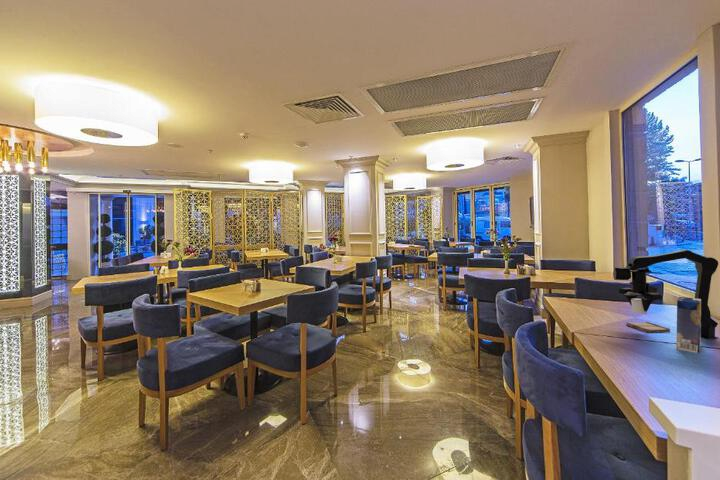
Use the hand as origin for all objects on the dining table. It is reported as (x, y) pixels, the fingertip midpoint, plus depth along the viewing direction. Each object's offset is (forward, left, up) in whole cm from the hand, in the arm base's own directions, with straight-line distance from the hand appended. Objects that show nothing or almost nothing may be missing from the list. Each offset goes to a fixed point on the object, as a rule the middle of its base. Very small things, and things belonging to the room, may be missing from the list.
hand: (639, 309), depth 161 cm
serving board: (+2, -6, -11) cm, 13 cm away
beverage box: (-24, +1, -11) cm, 27 cm away
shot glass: (0, 0, -2) cm, 2 cm away
